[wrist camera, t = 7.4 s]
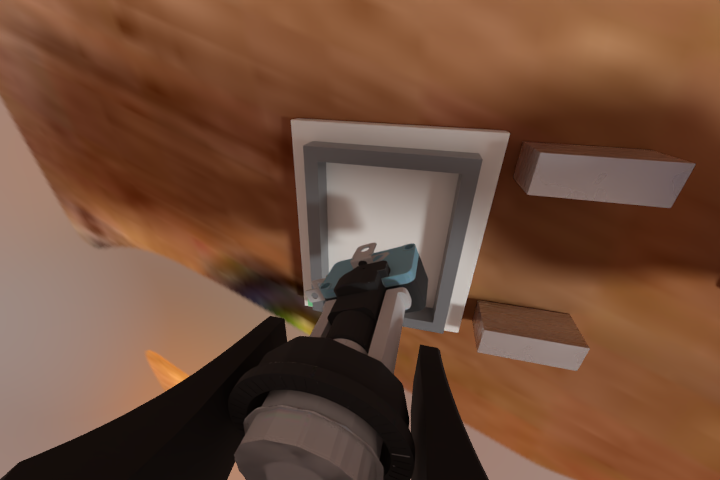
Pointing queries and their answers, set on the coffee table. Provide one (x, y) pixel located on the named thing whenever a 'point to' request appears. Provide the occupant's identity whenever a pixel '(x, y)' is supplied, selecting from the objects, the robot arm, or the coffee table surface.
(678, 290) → the coffee table surface
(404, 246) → the push button
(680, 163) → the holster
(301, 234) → the port dock
